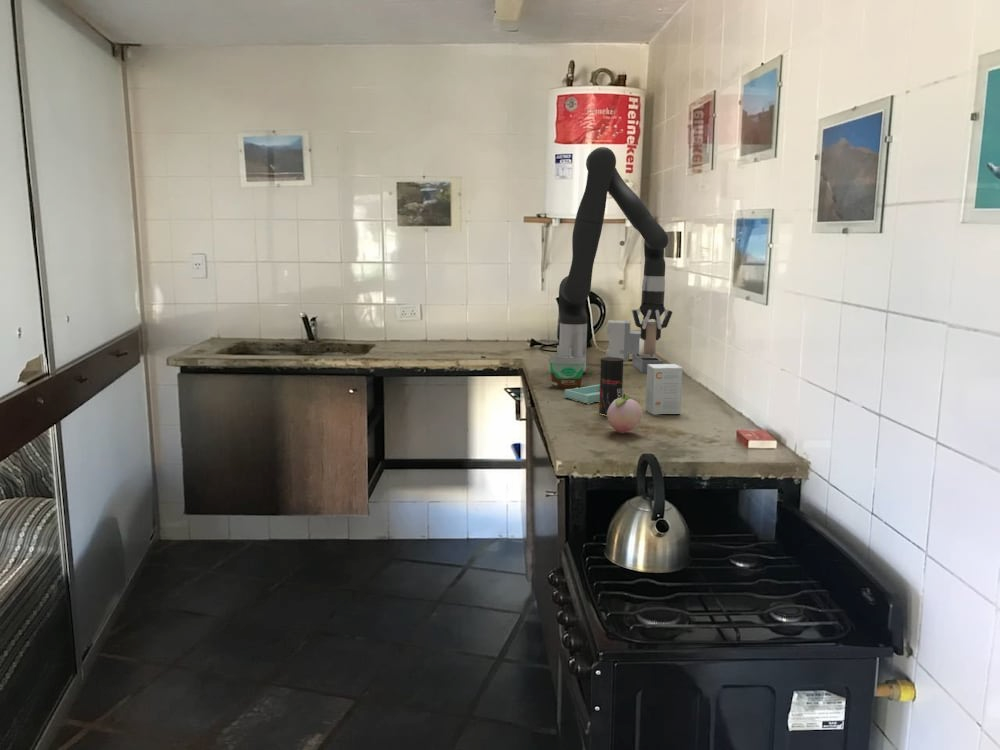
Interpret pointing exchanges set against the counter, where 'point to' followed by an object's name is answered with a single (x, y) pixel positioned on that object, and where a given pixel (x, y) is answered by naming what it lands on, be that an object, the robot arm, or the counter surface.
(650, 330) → the brown tall block
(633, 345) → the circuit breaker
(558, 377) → the food container
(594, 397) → the parts tray
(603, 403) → the deodorant
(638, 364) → the holder
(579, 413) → the counter surface
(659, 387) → the small box
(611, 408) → the decorative fruit
